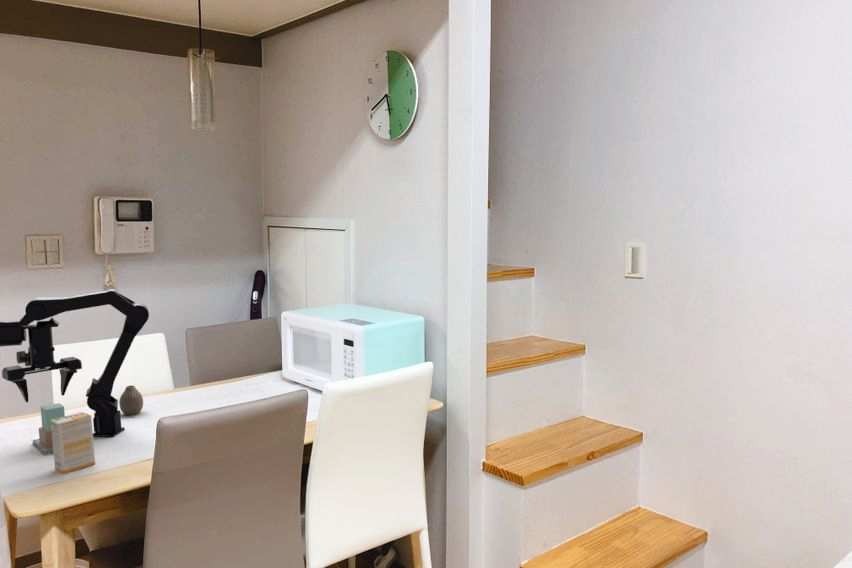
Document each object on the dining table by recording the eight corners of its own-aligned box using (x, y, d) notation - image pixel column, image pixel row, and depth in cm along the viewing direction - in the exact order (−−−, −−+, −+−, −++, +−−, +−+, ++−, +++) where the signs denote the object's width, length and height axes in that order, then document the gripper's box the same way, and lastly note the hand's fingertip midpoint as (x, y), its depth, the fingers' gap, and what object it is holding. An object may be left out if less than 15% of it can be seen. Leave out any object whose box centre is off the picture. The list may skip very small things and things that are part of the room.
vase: (115, 416, 217) (113, 388, 216) (129, 409, 223) (127, 383, 222) (134, 417, 215) (132, 390, 214) (148, 410, 222) (146, 384, 221)
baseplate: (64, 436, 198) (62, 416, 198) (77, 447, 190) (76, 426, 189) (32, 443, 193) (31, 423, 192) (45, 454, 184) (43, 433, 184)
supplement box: (86, 460, 181) (83, 411, 179) (95, 464, 177) (92, 414, 176) (53, 469, 174) (49, 419, 173) (62, 474, 171) (58, 423, 170)
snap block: (60, 423, 194) (58, 403, 193) (65, 427, 191) (63, 406, 190) (42, 427, 191) (40, 406, 190) (47, 431, 188) (45, 410, 187)
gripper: (66, 334, 204) (69, 386, 206) (-7, 344, 191) (-2, 400, 193) (80, 339, 196) (84, 393, 198) (6, 350, 183) (11, 408, 185)
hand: (45, 398), depth 194 cm, fingers open, 9 cm apart
